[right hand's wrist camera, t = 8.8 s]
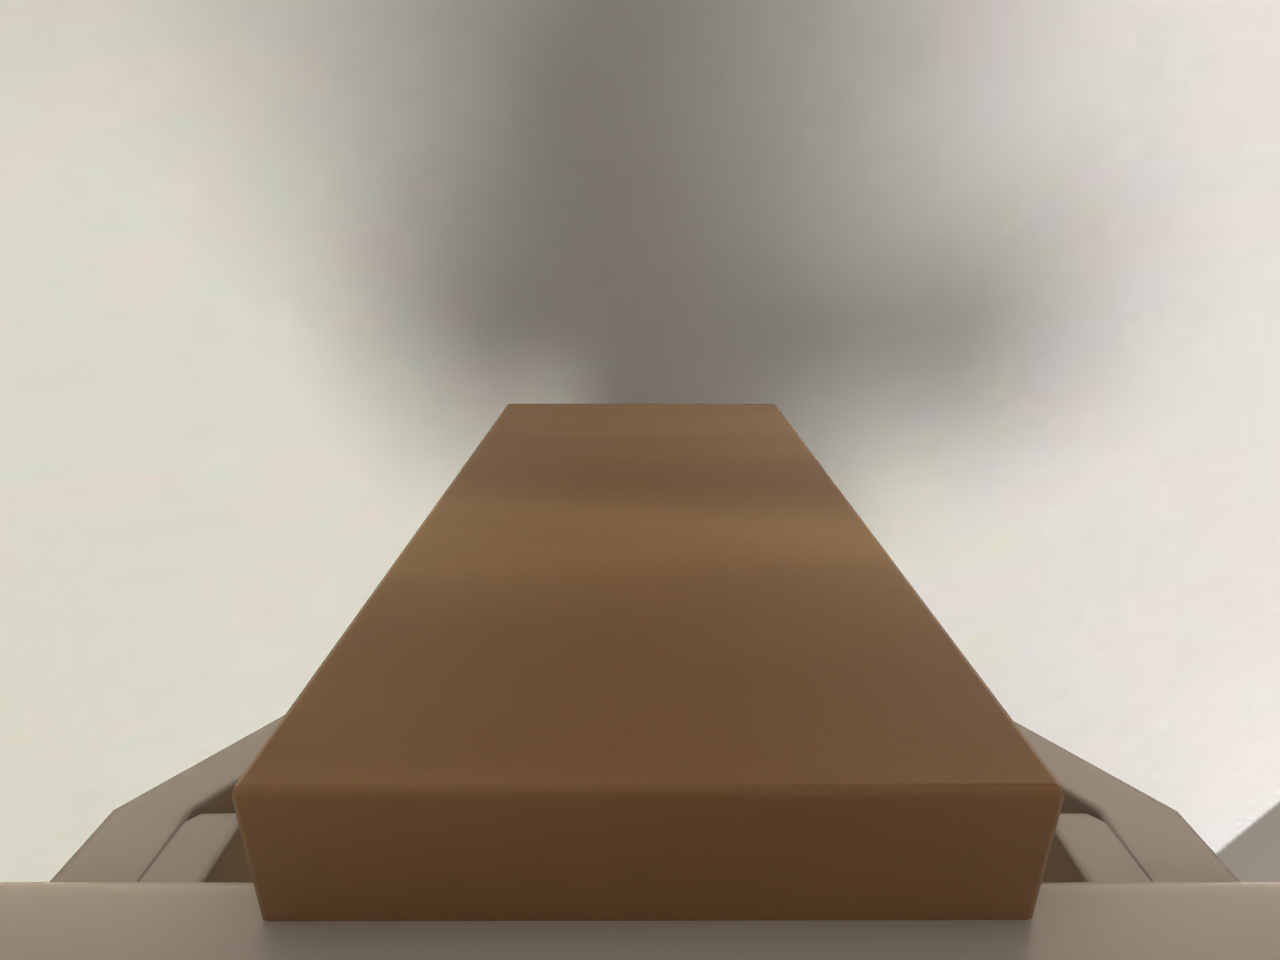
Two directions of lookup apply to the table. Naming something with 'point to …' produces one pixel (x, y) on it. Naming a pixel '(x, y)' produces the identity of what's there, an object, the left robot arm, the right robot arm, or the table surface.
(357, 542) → the table surface
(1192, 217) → the table surface
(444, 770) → the box
